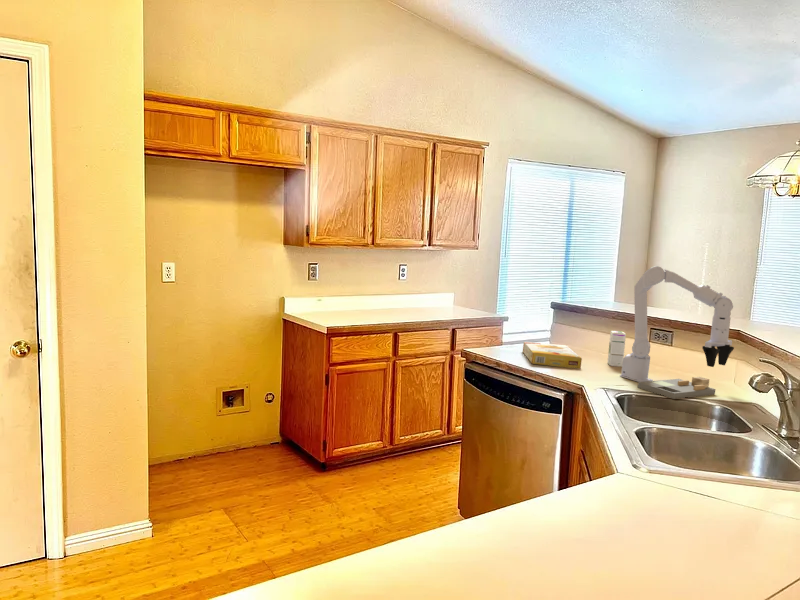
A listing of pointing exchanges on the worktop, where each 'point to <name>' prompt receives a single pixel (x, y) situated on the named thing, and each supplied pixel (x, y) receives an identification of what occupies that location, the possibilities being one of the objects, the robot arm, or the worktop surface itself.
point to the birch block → (700, 381)
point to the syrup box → (616, 348)
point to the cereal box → (551, 355)
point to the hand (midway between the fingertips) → (716, 365)
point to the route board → (676, 388)
